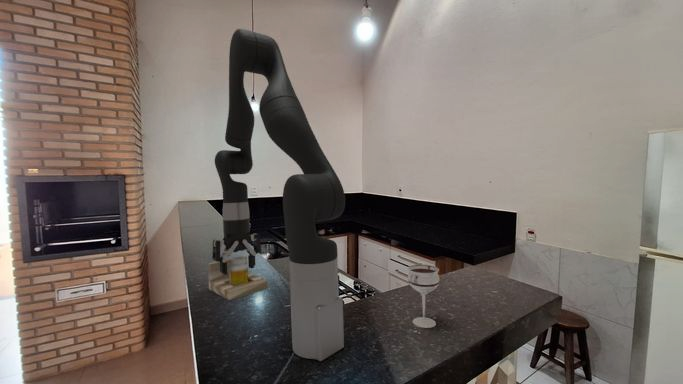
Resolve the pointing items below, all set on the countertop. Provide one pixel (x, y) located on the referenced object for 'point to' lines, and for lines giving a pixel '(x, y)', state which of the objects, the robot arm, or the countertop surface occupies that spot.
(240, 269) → the supplement bottle
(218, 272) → the socket stand
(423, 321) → the wineglass
